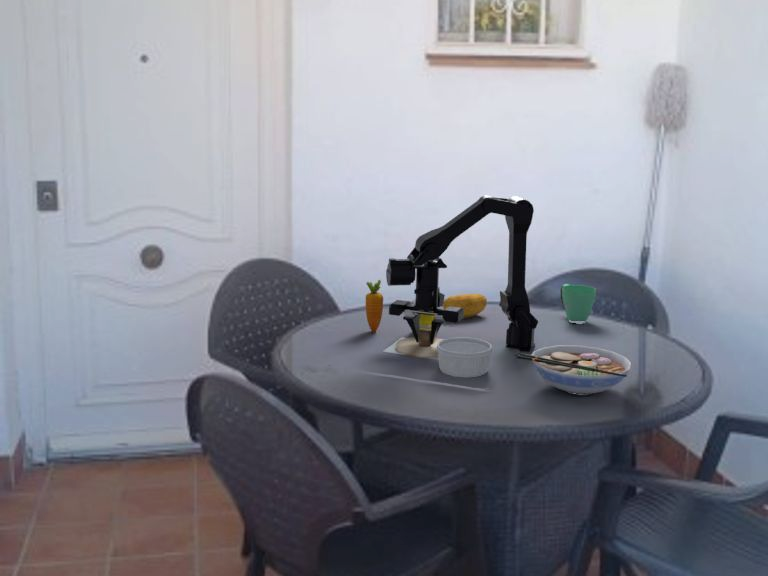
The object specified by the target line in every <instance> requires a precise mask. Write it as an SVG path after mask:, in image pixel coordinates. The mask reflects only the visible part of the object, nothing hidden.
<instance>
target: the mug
mask: <svg viewBox="0 0 768 576" xmlns="http://www.w3.org/2000/svg"><path fill="white" fill-rule="evenodd" d="M597 291H598V289H596V288H595V287H592V286H589V285H581V284H569V283H564V284H562V285H561V288H560V299H561V303H562V307H563V309H564V311H565V315H566V318H567V321H568V320H571V321H586V320H587V321H588V318H589V317H590V315H591V312H592V310H593V307H594V303H595V299H596V296H597ZM587 321H586V322H587Z"/></svg>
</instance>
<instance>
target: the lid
mask: <svg viewBox="0 0 768 576" xmlns="http://www.w3.org/2000/svg"><path fill="white" fill-rule="evenodd" d="M404 338H405V339H402V340H400V341H398V340H397V341H398V342H397V343H396V350H397V351H398V352H400V353H402V354H405V355H404V356H408V357H413V358H421V359H429V358H435V357H438V351H437V344H438V342H439V341H441V340H444V339H443V338H438V337H436V339H435V341H434V344H433V345H431V330H430V329H420V330H419V342H418V343H417V342H416V340H415V337H414V336H413V337H404Z"/></svg>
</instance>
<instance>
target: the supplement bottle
mask: <svg viewBox="0 0 768 576" xmlns="http://www.w3.org/2000/svg"><path fill="white" fill-rule="evenodd" d="M415 299H416V297H415V298H414V299H413V300H412V301H413V302H412V303H413V304H412V306H414V305H415ZM420 311H424V310H420ZM429 312H433V311H429ZM434 319H435V316H433V315H425V314H421V315H420V320H419V327H420V329H430V330H431V322H432V321H433V320H434ZM411 332H412V331H411ZM412 334H413V332H412Z"/></svg>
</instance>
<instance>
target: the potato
mask: <svg viewBox="0 0 768 576" xmlns="http://www.w3.org/2000/svg"><path fill="white" fill-rule="evenodd" d="M449 306H453V307H461V308H462V309H463V310H464V318H463V319H468V318H470V317H471V318H472V317H474V316H477V315H479V314H480V313H482V312H483V311H484V310H485V308H486V307H487V298H486V296H485V295H483V294H481V293H462V294H456V295H450V296H448V297H447V298H445V299H444V304H443V306H442V307H443V308H442V309H446V308H447V307H449Z"/></svg>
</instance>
